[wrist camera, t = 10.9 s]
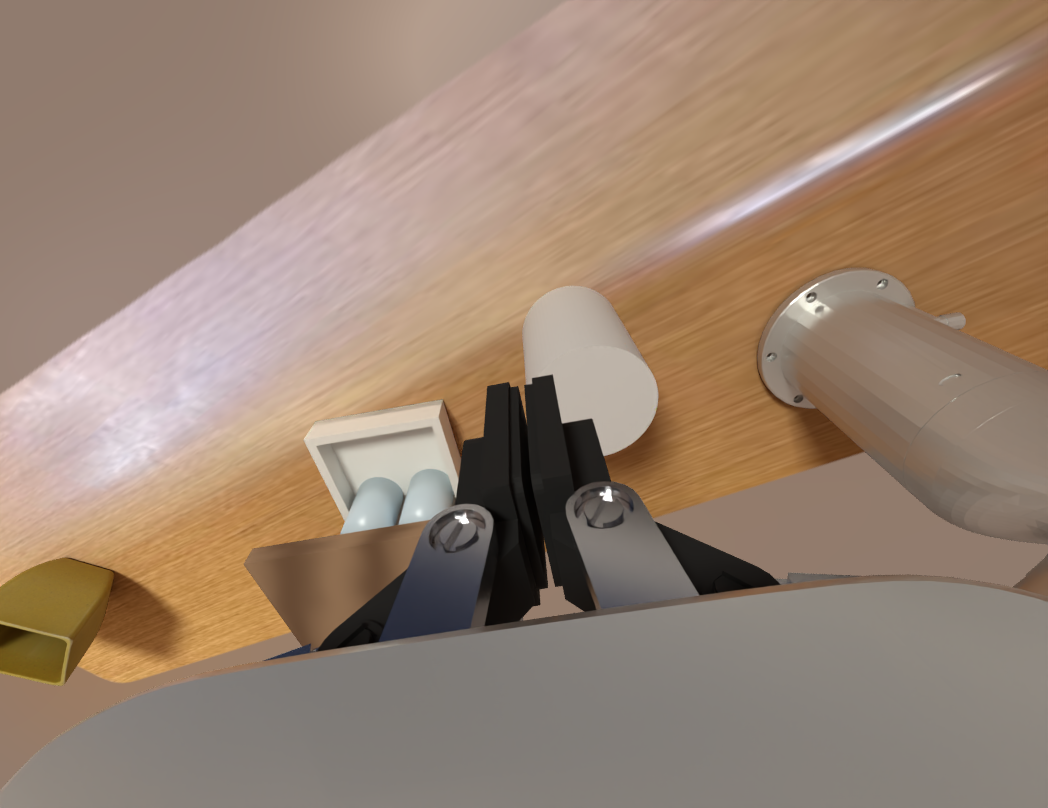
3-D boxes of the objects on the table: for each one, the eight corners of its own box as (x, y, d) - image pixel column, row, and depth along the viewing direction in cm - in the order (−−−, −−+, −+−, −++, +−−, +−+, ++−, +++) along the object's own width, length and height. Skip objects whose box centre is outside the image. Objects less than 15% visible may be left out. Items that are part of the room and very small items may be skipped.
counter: (487, 429, 44) (481, 526, 34) (516, 534, 51) (518, 642, 41) (305, 461, 46) (243, 564, 35) (357, 559, 53) (319, 670, 42)
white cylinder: (566, 392, 43) (585, 477, 32) (502, 332, 40) (500, 405, 29) (638, 333, 40) (683, 405, 30) (575, 264, 37) (602, 317, 27)
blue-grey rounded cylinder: (395, 473, 46) (381, 518, 41) (408, 507, 48) (397, 553, 43) (351, 481, 46) (332, 525, 41) (367, 513, 48) (350, 560, 43)
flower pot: (45, 537, 50) (-41, 613, 42) (136, 564, 52) (71, 640, 44) (40, 587, 53) (-40, 665, 46) (125, 609, 56) (63, 687, 48)
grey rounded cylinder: (448, 465, 45) (441, 509, 40) (459, 499, 48) (453, 545, 42) (404, 472, 46) (391, 516, 41) (416, 506, 48) (406, 552, 43)
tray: (442, 399, 43) (438, 417, 40) (481, 526, 51) (480, 547, 48) (315, 421, 43) (303, 439, 41) (373, 542, 51) (366, 564, 49)
